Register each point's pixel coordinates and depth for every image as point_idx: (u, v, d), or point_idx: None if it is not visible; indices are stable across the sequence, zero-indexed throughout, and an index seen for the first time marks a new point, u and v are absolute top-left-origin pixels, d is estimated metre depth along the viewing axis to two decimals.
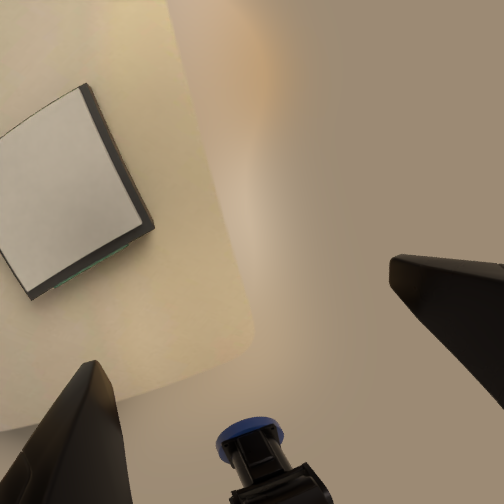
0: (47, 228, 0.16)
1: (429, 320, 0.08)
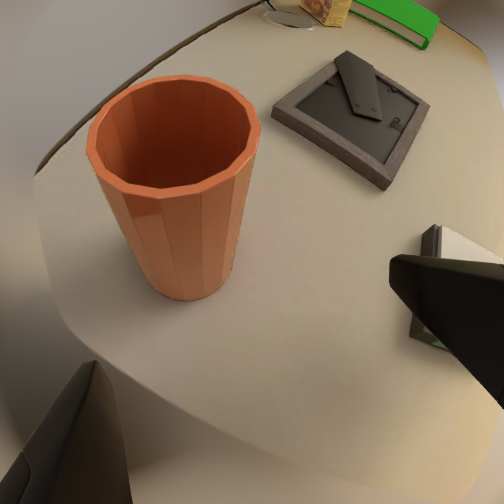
0: None
1: (429, 320, 0.08)
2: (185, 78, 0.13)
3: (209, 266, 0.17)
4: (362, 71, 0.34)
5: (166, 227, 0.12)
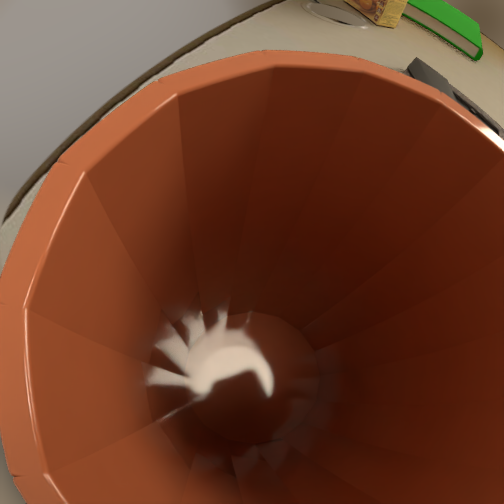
0: None
1: None
2: (376, 73, 0.03)
3: None
4: (439, 85, 0.25)
5: None
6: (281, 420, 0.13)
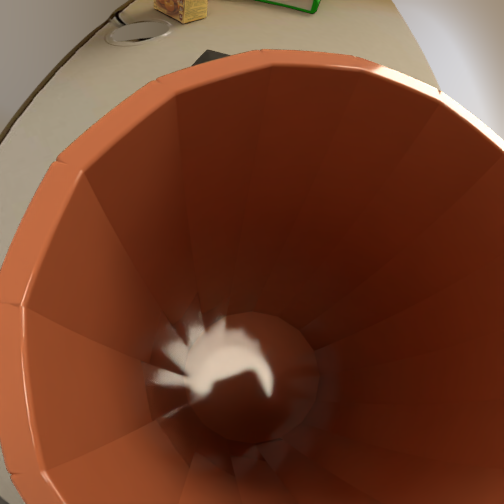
0: None
1: None
2: (374, 72, 0.03)
3: None
4: None
5: None
6: (281, 420, 0.13)
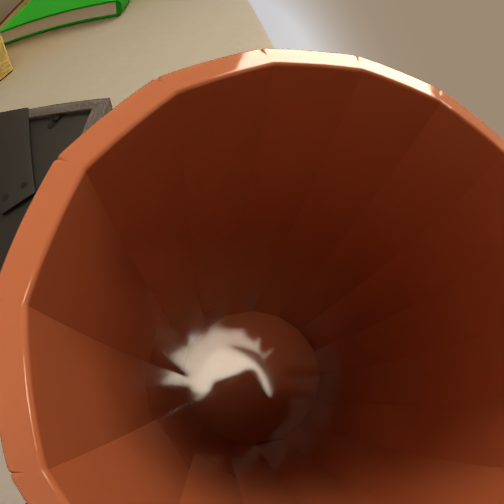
0: None
1: None
2: (375, 71, 0.03)
3: None
4: (12, 130, 0.22)
5: None
6: (281, 419, 0.13)
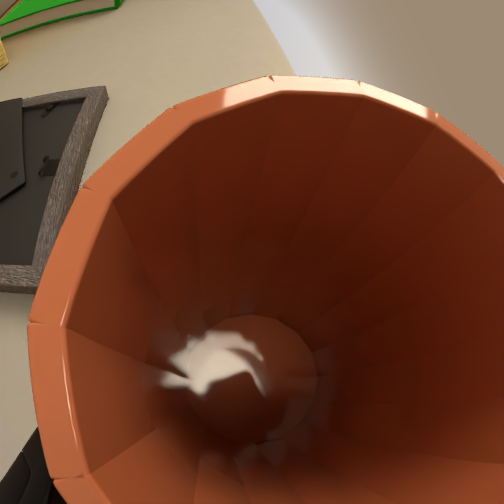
0: None
1: None
2: (375, 97, 0.04)
3: None
4: (4, 120, 0.20)
5: None
6: (280, 420, 0.13)
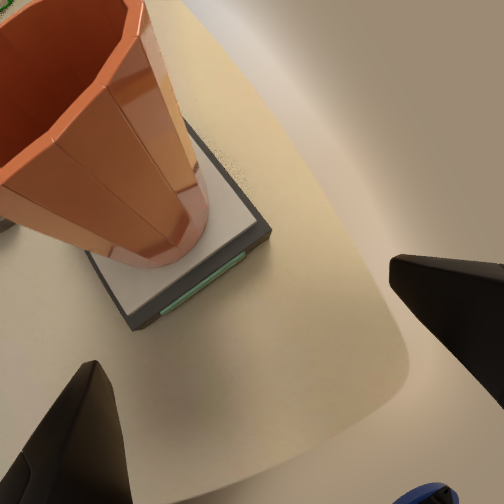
0: None
1: (429, 320, 0.08)
2: (36, 2, 0.05)
3: (166, 223, 0.12)
4: None
5: (54, 211, 0.06)
6: None
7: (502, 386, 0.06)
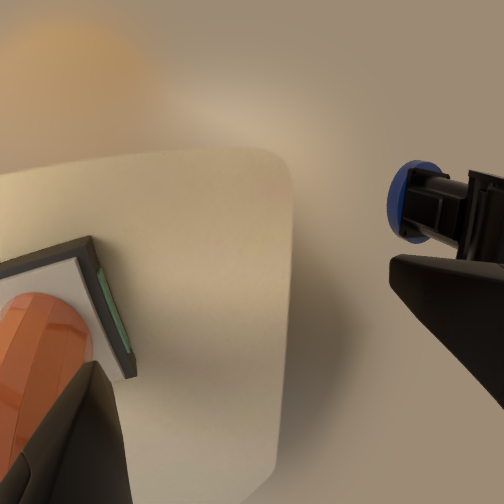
0: None
1: (429, 320, 0.08)
2: None
3: None
4: None
5: None
6: None
7: (502, 386, 0.06)
